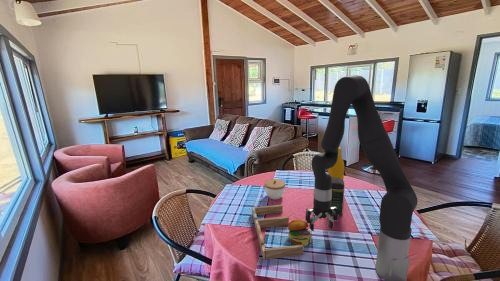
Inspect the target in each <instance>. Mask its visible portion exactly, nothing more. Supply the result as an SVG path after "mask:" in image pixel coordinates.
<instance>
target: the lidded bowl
mask: <svg viewBox="0 0 500 281" xmlns="http://www.w3.org/2000/svg"><path fill="white" fill-rule="evenodd" d="M285 190H286V182H285V181H284V180H282V179H278V178H273V179H267V180H266V181H265V182H264V191H265V193H266V196H268V198H269V199H272V200H280V199H281V198H282V197H283V196H284V194H285Z"/></svg>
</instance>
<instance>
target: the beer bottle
mask: <svg viewBox="0 0 500 281" xmlns="http://www.w3.org/2000/svg"><path fill="white" fill-rule="evenodd" d="M342 156H343V155H342V147H340V146H339V148H338V159H337V162H336V164H335V165H334V166H333V167H331V168H328V169H327V170H328V172H327V173H328V174H330V175H331V177H337V178H340V179H342V180H343V181H344V175H345V161H344V159H343V157H342Z"/></svg>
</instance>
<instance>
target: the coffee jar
mask: <svg viewBox="0 0 500 281" xmlns="http://www.w3.org/2000/svg"><path fill="white" fill-rule="evenodd" d="M331 190H332V199H331V208H332V207H333V206H335V207H336V208H337V209H338V216H341V215H342V214H343V211H344V210H343V208H344V207H343V206H344V197H345V181H344V179H343V180H342V179H340V178H337V177H332V187H331ZM329 215H332V216H333V211H331V213H330V214H329Z"/></svg>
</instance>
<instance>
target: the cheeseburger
mask: <svg viewBox="0 0 500 281" xmlns="http://www.w3.org/2000/svg"><path fill="white" fill-rule="evenodd" d="M287 229H288V238H289V240H290V242H291V243H292V244H295V245H303V247H307V246H308V245H309V243H310V242H311V240H312V239H311V238H312V236H313V235H312V233H311V231H310V230H309V229H310V227H309V223H307V221H306V220H305V221H304V220H302V219H297V218H296V219H292V220H291V221H290V222H289V224H288V225H287Z"/></svg>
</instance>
